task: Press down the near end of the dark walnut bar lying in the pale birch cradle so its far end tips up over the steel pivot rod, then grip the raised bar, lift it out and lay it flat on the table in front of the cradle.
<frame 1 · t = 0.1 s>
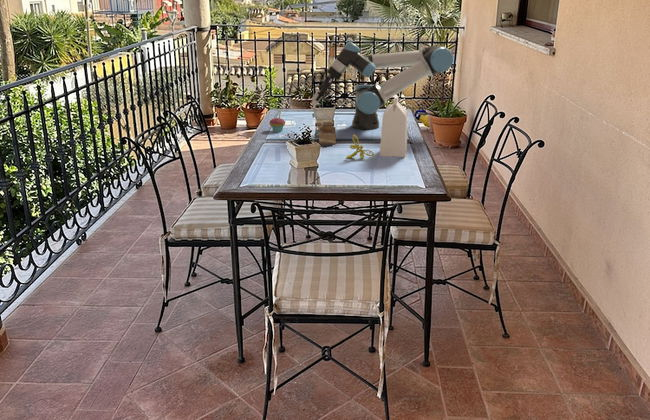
hand: (313, 103, 303), 15 cm above the table, tool tilted 35°, fingers open, 13 cm apart
birch cradle: (327, 140, 291), on the table
decorative insect: (360, 159, 259), on the table
walnut bar: (327, 131, 290), point 4 cm above the table, touching birch cradle
milk: (393, 153, 269), on the table
cupcake: (277, 131, 309), on the table
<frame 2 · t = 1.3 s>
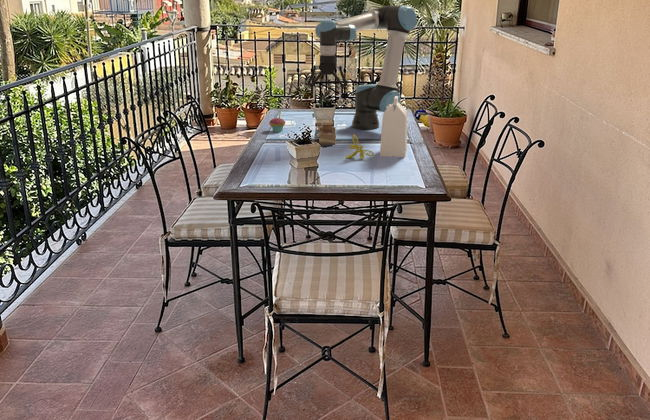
hand: (327, 100, 280), 21 cm above the table, tool pointing down, fingers open, 12 cm apart
nothing on the table moved.
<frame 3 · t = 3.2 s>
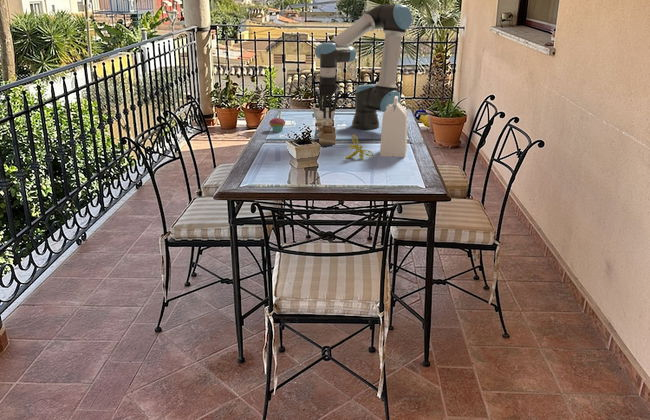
hand: (327, 124, 284), 9 cm above the table, tool pointing down, fingers closed
walnut bar: (327, 131, 290), point 4 cm above the table, touching birch cradle, gripper
everything else where it was.
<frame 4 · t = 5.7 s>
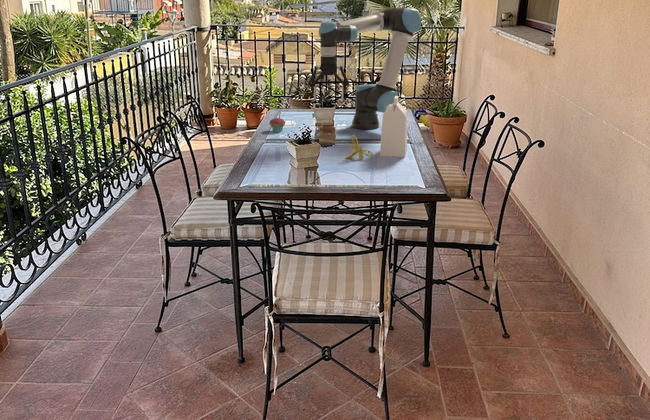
hand: (328, 99, 285), 20 cm above the table, tool pointing down, fingers open, 13 cm apart
walnut bar: (327, 131, 290), point 4 cm above the table, touching birch cradle
everything else where it was.
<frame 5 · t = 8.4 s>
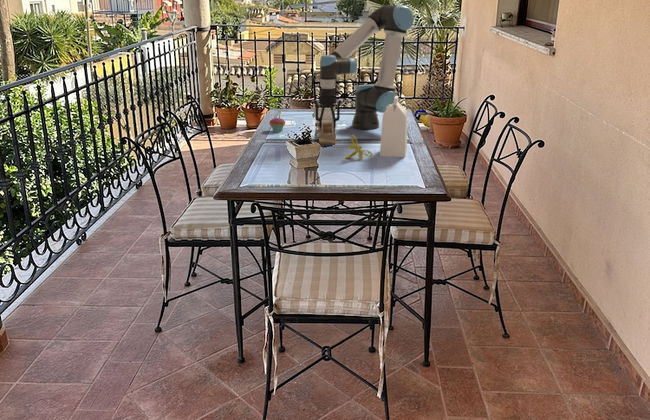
hand: (327, 133, 292), 3 cm above the table, tool pointing down, fingers closed on walnut bar, 4 cm apart
walnut bar: (327, 131, 290), point 4 cm above the table, touching birch cradle, gripper
everything else where it was.
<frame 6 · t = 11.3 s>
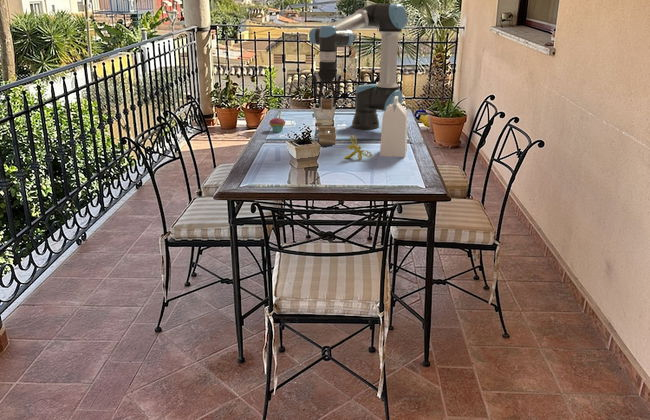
hand: (326, 111, 272), 17 cm above the table, tool pointing down, fingers closed on walnut bar, 4 cm apart
walnut bar: (326, 108, 271), point 19 cm above the table, tilted 5°, touching gripper
when the fingers open (2 cm above the table, at t = 14.5 s): walnut bar drops 4 cm, on the table.
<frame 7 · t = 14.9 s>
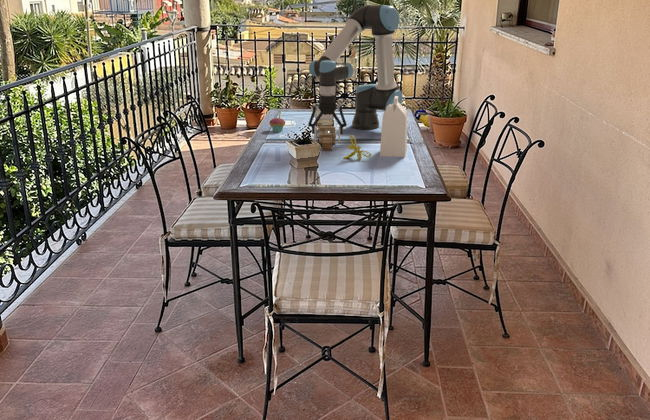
hand: (327, 140, 277), 3 cm above the table, tool pointing down, fingers open, 11 cm apart
walnut bar: (327, 148, 277), on the table
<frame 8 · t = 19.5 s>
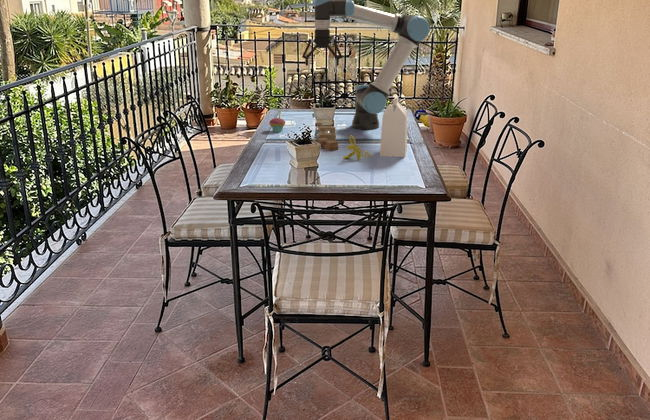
hand: (322, 72, 293), 32 cm above the table, tool pointing down, fingers open, 13 cm apart
at the end: walnut bar inside the target area (1.0 cm from its centre), on the table; walnut bar tilted 0°; the gripper is holding nothing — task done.
